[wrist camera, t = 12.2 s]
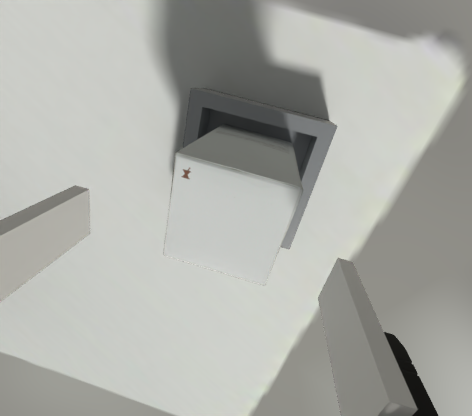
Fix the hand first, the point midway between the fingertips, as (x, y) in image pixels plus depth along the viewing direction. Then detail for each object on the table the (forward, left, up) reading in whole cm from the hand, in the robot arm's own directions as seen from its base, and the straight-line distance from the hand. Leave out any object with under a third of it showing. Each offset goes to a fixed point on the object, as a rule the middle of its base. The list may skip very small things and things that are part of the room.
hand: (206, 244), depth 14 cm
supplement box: (0, 0, -15) cm, 15 cm away
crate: (0, 0, -16) cm, 16 cm away
